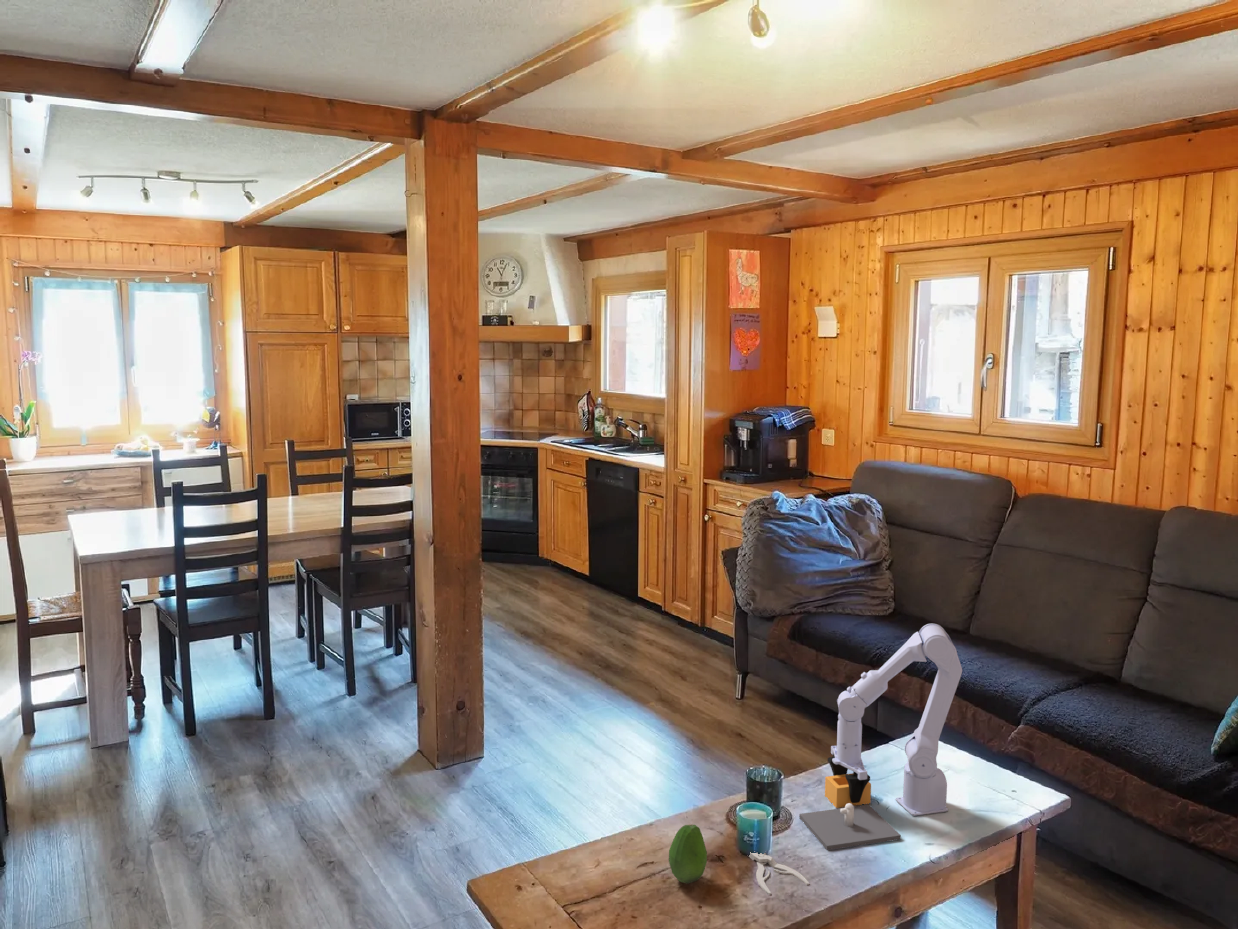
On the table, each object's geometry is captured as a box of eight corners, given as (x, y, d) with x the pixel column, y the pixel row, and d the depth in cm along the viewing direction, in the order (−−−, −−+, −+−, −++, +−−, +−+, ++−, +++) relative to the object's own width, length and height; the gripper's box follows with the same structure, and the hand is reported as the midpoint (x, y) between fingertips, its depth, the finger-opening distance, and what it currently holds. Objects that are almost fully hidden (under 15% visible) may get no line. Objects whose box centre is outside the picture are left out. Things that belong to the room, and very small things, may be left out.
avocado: (714, 880, 184) (715, 826, 182) (688, 896, 178) (688, 840, 177) (686, 864, 189) (687, 811, 188) (660, 878, 184) (660, 824, 183)
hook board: (869, 808, 212) (869, 784, 211) (900, 839, 199) (901, 814, 198) (799, 818, 208) (799, 793, 207) (826, 850, 194) (827, 824, 194)
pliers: (768, 889, 178) (732, 851, 192) (768, 897, 179) (732, 858, 192) (810, 879, 182) (771, 841, 196) (810, 886, 182) (771, 848, 196)
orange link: (858, 791, 220) (858, 772, 220) (870, 803, 214) (871, 784, 214) (824, 796, 218) (825, 776, 217) (836, 808, 212) (836, 788, 212)
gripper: (820, 730, 220) (819, 782, 222) (848, 756, 206) (846, 811, 208) (846, 727, 222) (844, 779, 224) (876, 752, 208) (874, 807, 210)
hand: (847, 794), depth 216 cm, fingers open, 7 cm apart
